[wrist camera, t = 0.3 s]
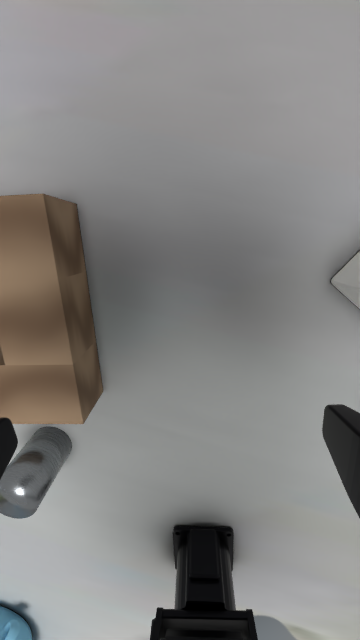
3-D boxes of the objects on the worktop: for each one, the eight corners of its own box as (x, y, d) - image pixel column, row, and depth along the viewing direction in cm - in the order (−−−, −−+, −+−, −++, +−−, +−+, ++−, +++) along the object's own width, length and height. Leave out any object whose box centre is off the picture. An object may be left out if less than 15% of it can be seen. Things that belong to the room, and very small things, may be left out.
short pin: (74, 459, 27) (42, 519, 21) (37, 458, 27) (-5, 517, 21) (68, 426, 26) (32, 480, 20) (29, 426, 26) (-18, 479, 20)
